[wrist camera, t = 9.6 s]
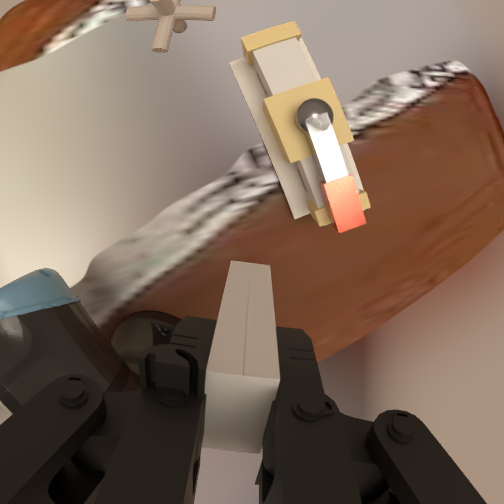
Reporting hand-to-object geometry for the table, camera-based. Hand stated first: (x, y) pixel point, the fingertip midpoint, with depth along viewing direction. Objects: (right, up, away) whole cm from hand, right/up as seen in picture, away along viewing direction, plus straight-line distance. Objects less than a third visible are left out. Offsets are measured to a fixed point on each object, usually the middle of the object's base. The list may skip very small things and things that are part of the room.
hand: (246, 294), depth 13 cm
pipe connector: (-9, +29, +18) cm, 36 cm away
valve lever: (+7, +10, +14) cm, 18 cm away
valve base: (+6, +16, +22) cm, 28 cm away
